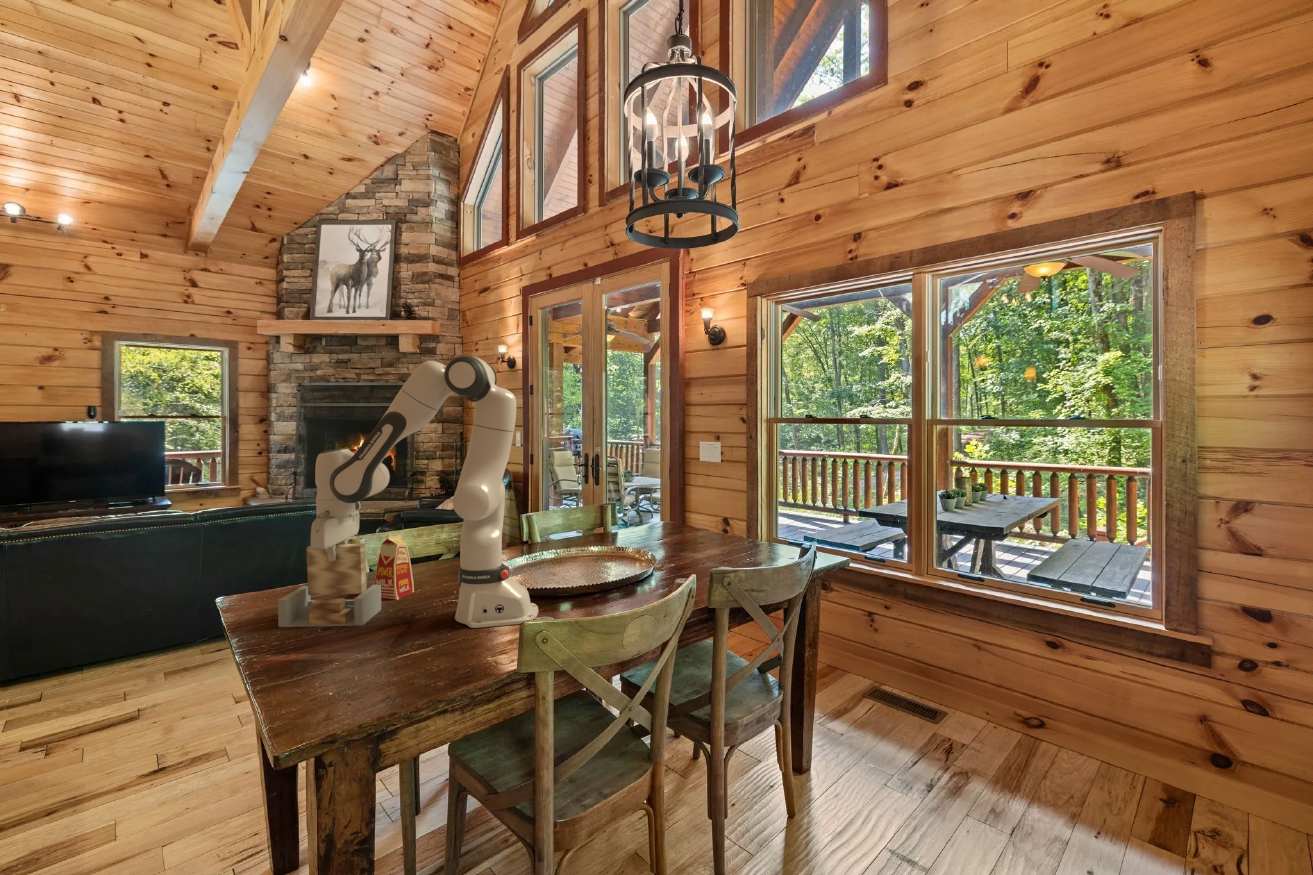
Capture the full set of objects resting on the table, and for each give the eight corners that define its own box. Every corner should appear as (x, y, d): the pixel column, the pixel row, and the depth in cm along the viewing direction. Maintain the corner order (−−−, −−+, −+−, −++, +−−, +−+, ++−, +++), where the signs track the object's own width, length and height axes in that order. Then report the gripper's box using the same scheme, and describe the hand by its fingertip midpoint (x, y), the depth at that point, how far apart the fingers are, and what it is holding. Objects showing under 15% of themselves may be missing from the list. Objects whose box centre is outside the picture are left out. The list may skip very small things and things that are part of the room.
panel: (366, 590, 160) (365, 543, 159) (361, 593, 157) (360, 546, 156) (314, 591, 159) (312, 544, 158) (308, 594, 156) (306, 547, 155)
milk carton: (397, 603, 170) (396, 536, 169) (370, 601, 172) (369, 535, 171) (416, 594, 179) (415, 530, 178) (390, 592, 181) (389, 529, 180)
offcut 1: (345, 608, 155) (344, 598, 155) (339, 612, 151) (339, 602, 151) (316, 609, 154) (316, 599, 154) (311, 614, 150) (310, 603, 150)
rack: (381, 613, 162) (380, 584, 162) (362, 629, 150) (362, 598, 150) (303, 614, 161) (302, 585, 160) (278, 631, 149) (277, 600, 149)
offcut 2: (351, 618, 155) (351, 608, 155) (345, 623, 151) (344, 613, 151) (316, 619, 154) (316, 609, 154) (309, 624, 151) (308, 613, 150)
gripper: (328, 514, 147) (330, 568, 148) (363, 502, 167) (364, 549, 168) (302, 515, 146) (304, 569, 147) (340, 502, 167) (342, 549, 167)
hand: (336, 558), depth 158 cm, fingers closed on panel, 3 cm apart
